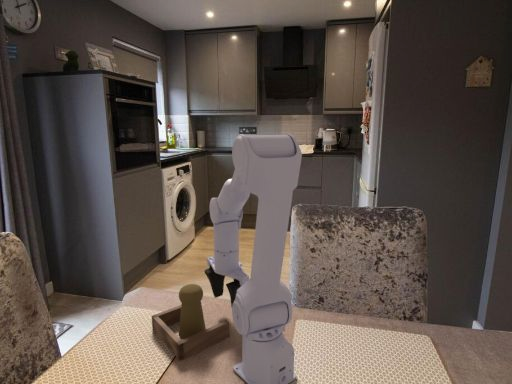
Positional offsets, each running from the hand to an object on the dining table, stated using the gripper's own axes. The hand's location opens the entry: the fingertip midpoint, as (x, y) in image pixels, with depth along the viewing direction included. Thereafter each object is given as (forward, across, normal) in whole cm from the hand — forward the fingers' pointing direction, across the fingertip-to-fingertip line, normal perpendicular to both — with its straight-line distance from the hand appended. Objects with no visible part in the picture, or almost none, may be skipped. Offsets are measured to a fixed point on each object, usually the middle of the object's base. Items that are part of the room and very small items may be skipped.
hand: (227, 302), depth 80 cm
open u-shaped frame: (+4, 0, +10) cm, 10 cm away
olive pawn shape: (+4, 0, +10) cm, 10 cm away
